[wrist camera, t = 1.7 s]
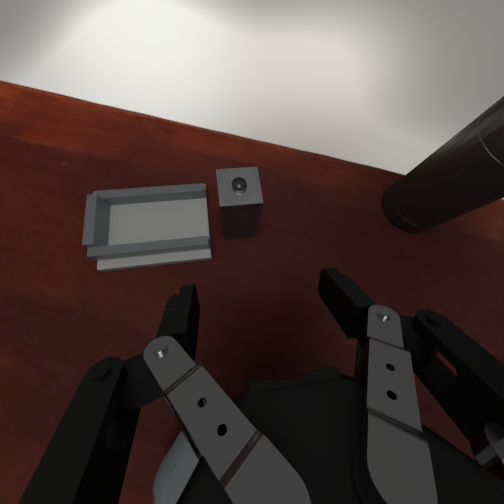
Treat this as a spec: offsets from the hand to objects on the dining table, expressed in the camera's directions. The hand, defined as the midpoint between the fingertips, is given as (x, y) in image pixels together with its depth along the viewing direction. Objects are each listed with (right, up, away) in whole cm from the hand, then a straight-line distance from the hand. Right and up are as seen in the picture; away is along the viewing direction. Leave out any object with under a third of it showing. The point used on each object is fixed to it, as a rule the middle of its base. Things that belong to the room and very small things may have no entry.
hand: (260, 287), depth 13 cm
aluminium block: (-3, +7, +19) cm, 20 cm away
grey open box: (-15, +6, +18) cm, 24 cm away
